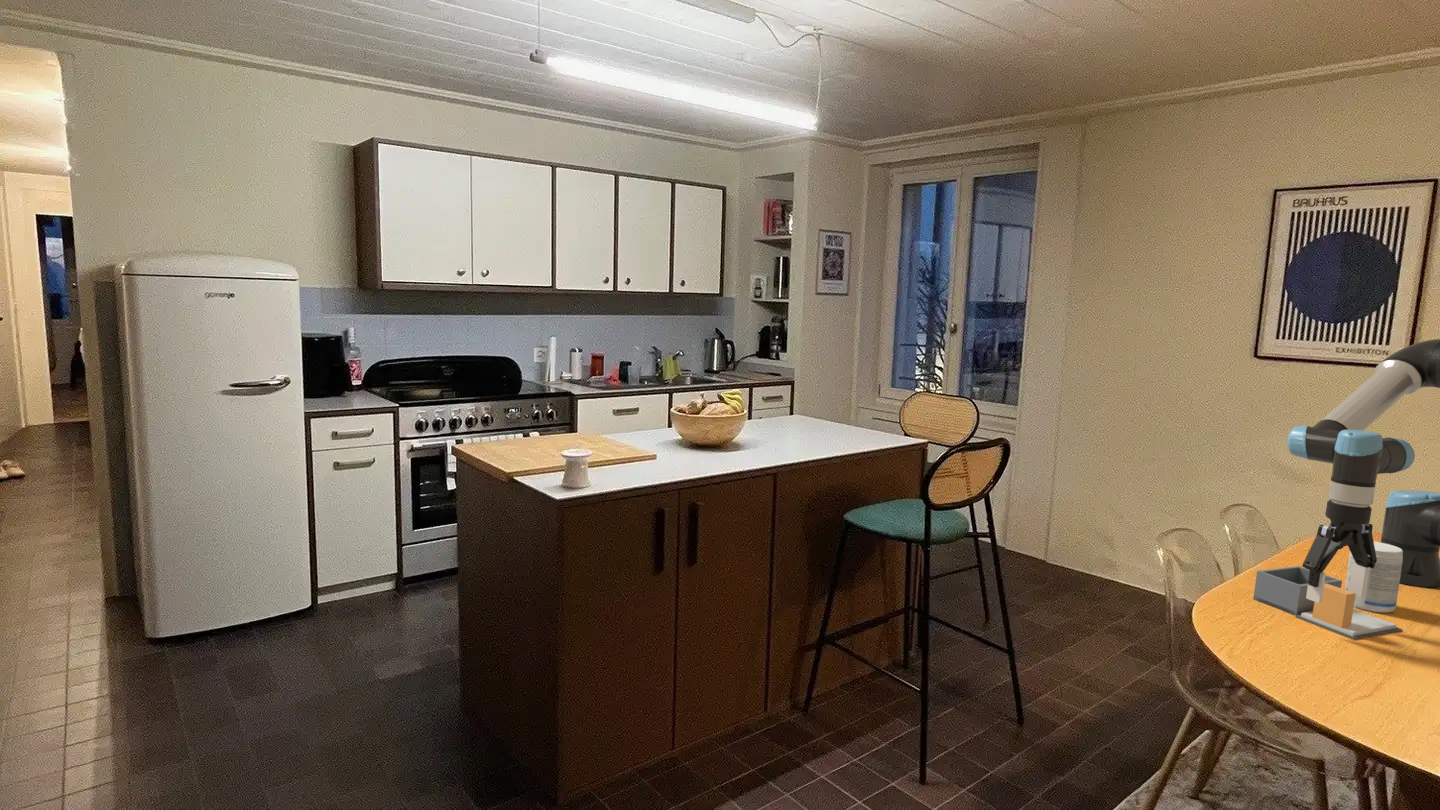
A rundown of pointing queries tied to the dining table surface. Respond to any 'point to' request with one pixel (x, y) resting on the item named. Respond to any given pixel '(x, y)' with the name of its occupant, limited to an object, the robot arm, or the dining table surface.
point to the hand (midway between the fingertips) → (1334, 597)
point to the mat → (1350, 635)
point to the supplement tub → (1380, 579)
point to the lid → (1344, 613)
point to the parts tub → (1287, 589)
